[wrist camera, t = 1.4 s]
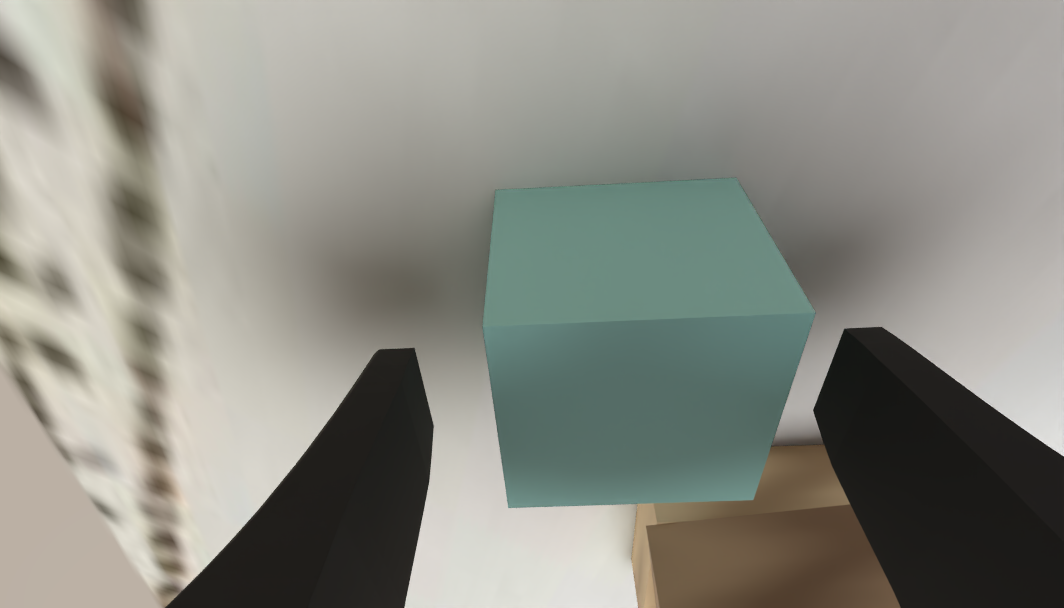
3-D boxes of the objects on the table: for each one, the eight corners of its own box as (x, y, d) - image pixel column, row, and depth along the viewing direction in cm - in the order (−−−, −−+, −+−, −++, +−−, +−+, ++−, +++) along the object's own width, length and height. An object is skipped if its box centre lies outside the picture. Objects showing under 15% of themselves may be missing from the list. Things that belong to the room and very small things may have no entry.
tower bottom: (858, 432, 16) (903, 514, 14) (805, 543, 20) (835, 620, 18) (641, 440, 16) (657, 522, 14) (629, 549, 20) (641, 625, 18)
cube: (735, 175, 11) (816, 312, 8) (702, 348, 14) (753, 500, 11) (495, 187, 11) (482, 327, 8) (513, 356, 14) (508, 507, 11)
